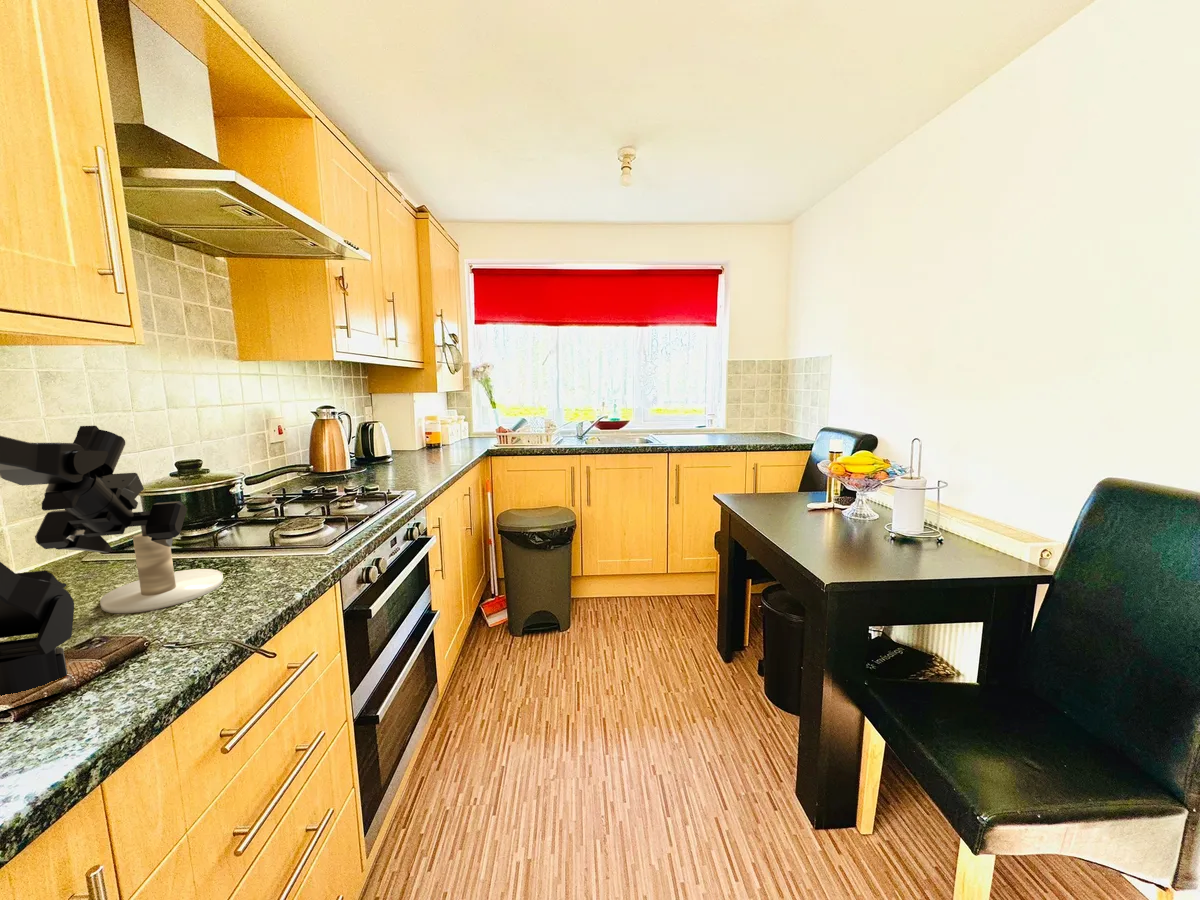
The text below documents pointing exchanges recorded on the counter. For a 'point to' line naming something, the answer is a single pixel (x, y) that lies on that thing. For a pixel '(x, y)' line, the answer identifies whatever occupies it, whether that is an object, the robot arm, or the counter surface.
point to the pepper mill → (153, 565)
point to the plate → (186, 589)
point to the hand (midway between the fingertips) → (140, 547)
